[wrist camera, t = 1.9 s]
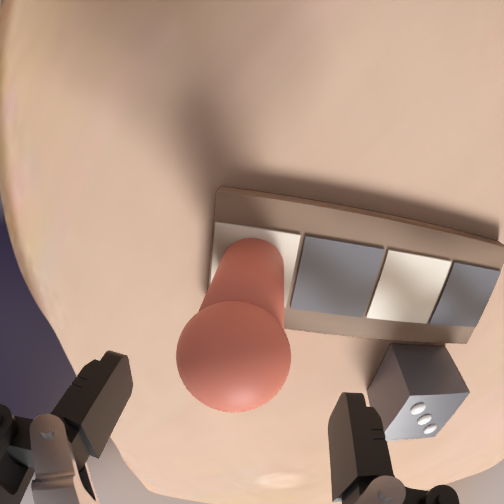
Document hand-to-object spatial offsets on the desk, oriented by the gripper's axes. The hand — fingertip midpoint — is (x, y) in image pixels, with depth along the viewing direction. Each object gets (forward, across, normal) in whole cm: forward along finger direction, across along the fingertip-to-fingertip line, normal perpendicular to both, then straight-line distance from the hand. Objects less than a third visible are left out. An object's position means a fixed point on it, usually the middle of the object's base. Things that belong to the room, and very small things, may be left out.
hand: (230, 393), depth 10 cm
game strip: (+12, -8, 0) cm, 14 cm away
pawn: (+10, 0, 0) cm, 10 cm away
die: (+12, -15, +9) cm, 21 cm away
